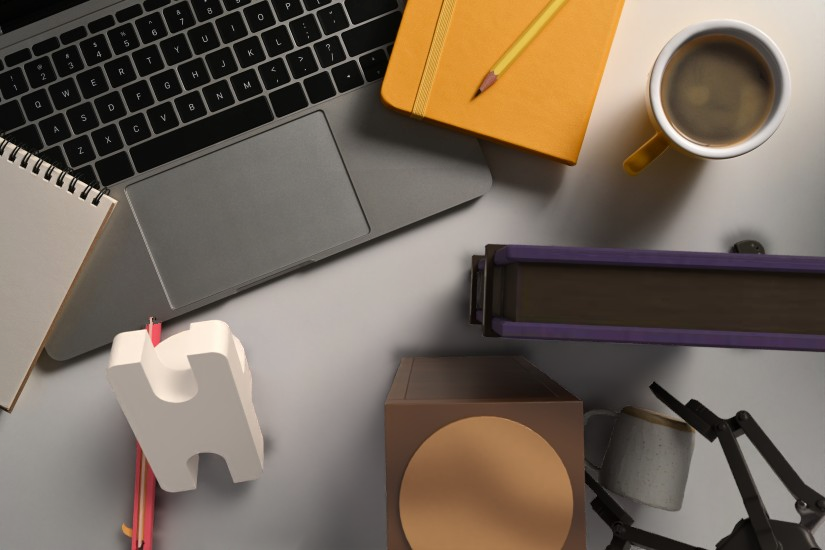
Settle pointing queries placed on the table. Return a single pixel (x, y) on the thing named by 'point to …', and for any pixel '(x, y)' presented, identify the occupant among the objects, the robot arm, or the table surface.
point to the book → (650, 297)
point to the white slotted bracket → (188, 401)
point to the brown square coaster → (485, 474)
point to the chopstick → (144, 482)
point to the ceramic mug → (646, 457)
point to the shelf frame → (472, 379)
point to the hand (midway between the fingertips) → (616, 429)
